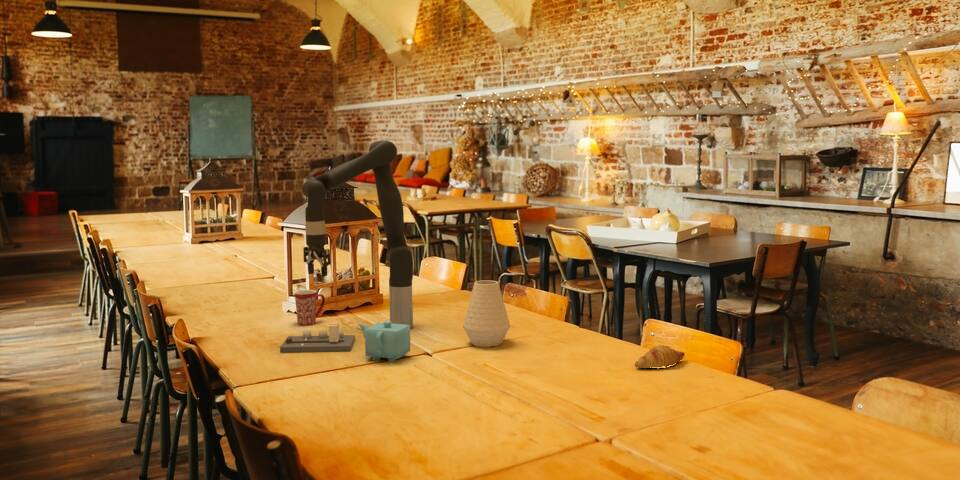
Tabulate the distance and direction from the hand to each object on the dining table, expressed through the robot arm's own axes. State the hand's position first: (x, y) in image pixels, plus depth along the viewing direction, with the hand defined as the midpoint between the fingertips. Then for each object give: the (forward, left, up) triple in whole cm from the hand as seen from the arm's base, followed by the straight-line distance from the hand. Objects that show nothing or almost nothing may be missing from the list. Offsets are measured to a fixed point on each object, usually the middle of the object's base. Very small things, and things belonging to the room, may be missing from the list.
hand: (317, 275), depth 305 cm
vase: (-64, +14, -25) cm, 70 cm away
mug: (+7, -24, -25) cm, 35 cm away
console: (-2, +14, -24) cm, 28 cm away
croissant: (-120, +46, -25) cm, 131 cm away
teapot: (-26, +30, -25) cm, 46 cm away
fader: (-8, +15, -22) cm, 28 cm away
